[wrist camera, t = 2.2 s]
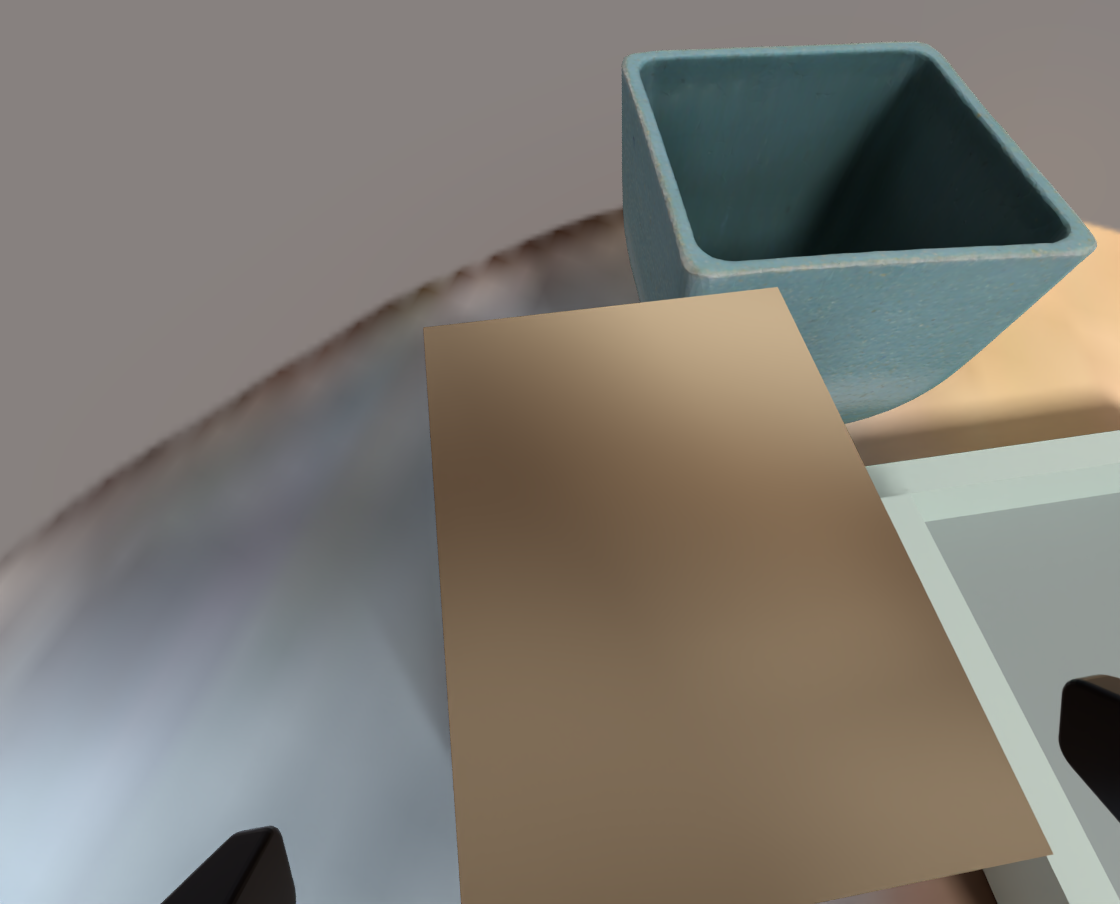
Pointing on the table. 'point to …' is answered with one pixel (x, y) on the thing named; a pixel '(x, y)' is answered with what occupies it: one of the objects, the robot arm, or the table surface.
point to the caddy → (689, 624)
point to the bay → (1026, 622)
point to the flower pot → (841, 204)
